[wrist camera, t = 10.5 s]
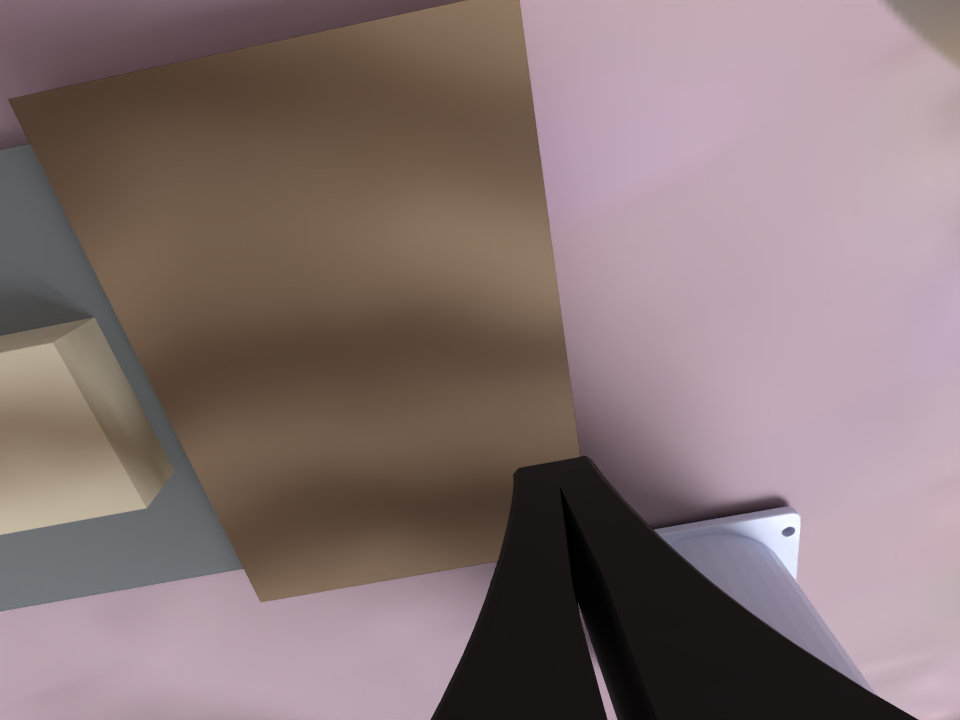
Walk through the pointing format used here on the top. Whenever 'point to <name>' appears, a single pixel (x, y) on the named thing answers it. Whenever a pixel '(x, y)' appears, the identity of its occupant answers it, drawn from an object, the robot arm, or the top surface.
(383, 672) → the top surface
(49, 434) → the birch block
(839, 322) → the top surface
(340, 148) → the walnut board
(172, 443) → the charcoal mat
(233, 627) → the top surface
